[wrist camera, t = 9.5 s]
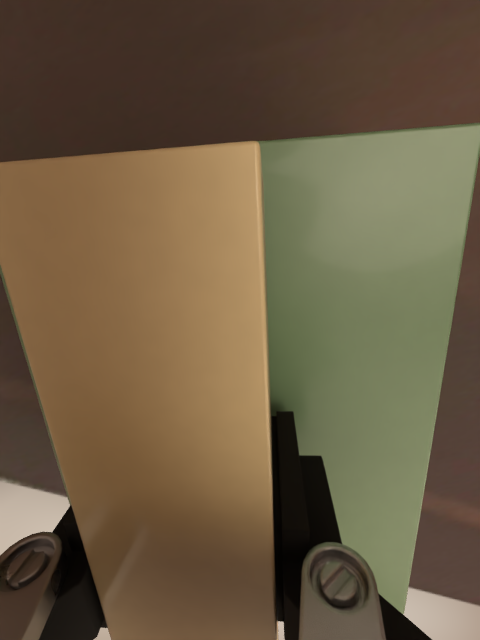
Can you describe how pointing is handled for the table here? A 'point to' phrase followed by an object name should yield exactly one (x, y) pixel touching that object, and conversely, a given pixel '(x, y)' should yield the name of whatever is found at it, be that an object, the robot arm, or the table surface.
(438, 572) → the table surface
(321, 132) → the table surface
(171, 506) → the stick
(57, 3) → the table surface
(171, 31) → the table surface
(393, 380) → the box lid
